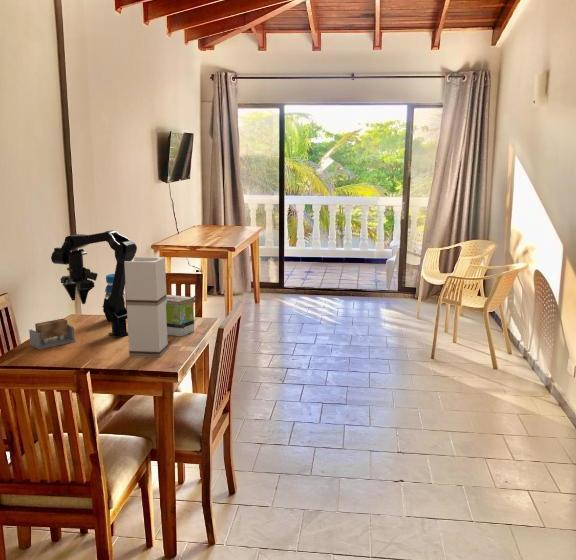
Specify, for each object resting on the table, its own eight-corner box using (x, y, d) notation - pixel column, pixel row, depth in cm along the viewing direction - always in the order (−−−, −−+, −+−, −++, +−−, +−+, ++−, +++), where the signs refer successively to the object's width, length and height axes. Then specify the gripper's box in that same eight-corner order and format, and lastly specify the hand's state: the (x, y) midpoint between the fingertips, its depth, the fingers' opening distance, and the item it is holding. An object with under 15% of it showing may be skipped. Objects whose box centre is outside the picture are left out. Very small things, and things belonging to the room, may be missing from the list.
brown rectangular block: (40, 339, 240) (39, 325, 239) (36, 337, 243) (35, 323, 242) (68, 333, 248) (67, 320, 247) (63, 331, 250) (62, 318, 249)
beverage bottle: (128, 316, 286) (126, 273, 282) (121, 321, 277) (119, 277, 274) (111, 316, 287) (108, 273, 283) (103, 321, 278) (100, 276, 275)
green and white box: (195, 331, 262) (194, 296, 259) (180, 337, 253) (179, 301, 250) (166, 327, 269) (164, 293, 266) (151, 332, 260) (149, 297, 257)
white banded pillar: (168, 348, 238) (164, 257, 232) (159, 357, 228) (155, 262, 221) (139, 347, 240) (135, 256, 233) (129, 356, 229) (124, 261, 223)
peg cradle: (65, 337, 254) (64, 322, 253) (75, 341, 248) (74, 326, 246) (29, 344, 244) (28, 329, 243) (39, 349, 238) (38, 334, 237)
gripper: (105, 265, 258) (107, 302, 261) (83, 260, 271) (86, 295, 274) (79, 269, 250) (82, 307, 253) (58, 263, 263) (61, 299, 266)
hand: (78, 302), depth 262 cm, fingers open, 9 cm apart
